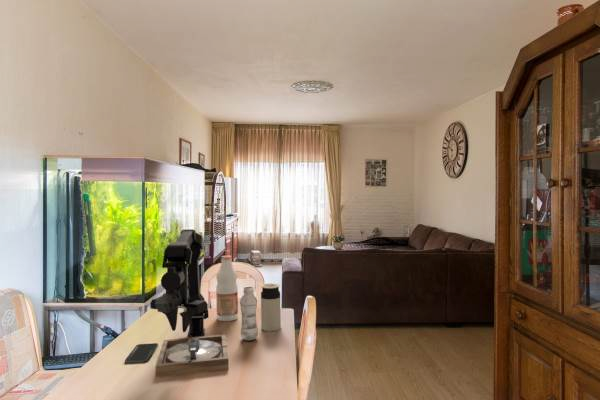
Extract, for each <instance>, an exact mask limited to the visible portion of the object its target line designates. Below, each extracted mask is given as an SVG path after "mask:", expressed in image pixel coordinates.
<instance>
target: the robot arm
mask: <svg viewBox="0 0 600 400" xmlns="http://www.w3.org/2000/svg"><path fill="white" fill-rule="evenodd" d="M204 243H205V242H204V238H203V236H202V235H201V234H199V233H198V232H197V231H196V229H194V228H192V229H191V228H190V229H181V230H180V235H179V236H178V238H177V239H176V241H174V242H170V243H168V245H167V246H166V247H165V248H164V251H163V252H164V253H163V258H162V259H163V260H162V266H161V268H163V269H166V268H167V269H166V272H165V273H164V274H163V275H162V277H161V279H160V285H161V287H162V288H163V289H165V293H164V294H163V295H160V296H158V297H156V298H152V300H151V301H150V303H149V304H150V305H149V306H150V307H149V308H150V310H151V309H152V310H157V312H158V313H163V314H164V315H165V316H166V319H167V320H168V323H169V325H170V328H171V330H172V332H174V331H176V328H177V322H178V313H179V316H181V326H182V327H181V328H182V333H185V332H186V333H187V337H200V336H206V335H205V332H206V328H205V327H204V326H205V325H204V322H205V321H204V320H207V319H208V318H209V317H210V316H209V308H208V307H209V304H208V302H207V301H206V300H205V297H204V295H202V293H201V288H200V287H201V286H200V284H201V283H200V282H201V281H200V266H199V265H200V261H199V259H200V256H201V254H202V253H203V249H204V248H205V247H204V246H205V245H204ZM179 308H180V309H183V311H182V312H178V311H179Z"/></svg>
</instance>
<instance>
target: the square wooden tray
mask: <svg viewBox="0 0 600 400" xmlns="http://www.w3.org/2000/svg"><path fill="white" fill-rule="evenodd" d="M226 335H227V334H215V335H201V336H191V337H183V338H173V339H163V341H162V344H161V348H160V351H159V353H158V357H157V361H156V363H155V378H164V377H171V376H180V375H190V374H200V373H207V372H216V371H226V370H229V369H230V367H229V353H228V352H229V351H228V343H227V336H226ZM192 338H199V340H208V341H213V342H216V343H218V344H219V345H220V346H221V354H220V356H219V357H217V358H210V359H200V360H195V359H194V360H191V361H181V362H172V363H169V362H168V361H167V359H166V353H167V351H168V350H169V349H170V348H171V347H173V346H175V345H177V344H180V343H184V342H188V340H189V339H192Z"/></svg>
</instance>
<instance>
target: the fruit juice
mask: <svg viewBox="0 0 600 400" xmlns="http://www.w3.org/2000/svg"><path fill="white" fill-rule="evenodd" d="M220 260H221V264H220V267H219V270H218V271H217V273H216V281H217V285H216V290H215V291H216V292H215V293H216V297H215V299H216V319H217V320H218V321H220V322H231V321H235V320H237V319H238V317H239V305H238V303H239V299H238V298H239V297H238V296H239V295H238V294H239V291H238V283H237V278H238V274H237V271H236V270H235V268H234V266H233V263H232V262H233V261H232V260H233V255H222V256H220Z"/></svg>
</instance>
